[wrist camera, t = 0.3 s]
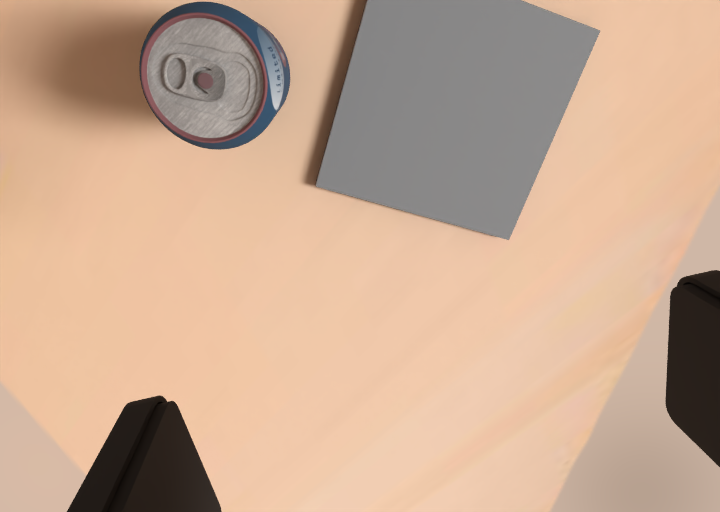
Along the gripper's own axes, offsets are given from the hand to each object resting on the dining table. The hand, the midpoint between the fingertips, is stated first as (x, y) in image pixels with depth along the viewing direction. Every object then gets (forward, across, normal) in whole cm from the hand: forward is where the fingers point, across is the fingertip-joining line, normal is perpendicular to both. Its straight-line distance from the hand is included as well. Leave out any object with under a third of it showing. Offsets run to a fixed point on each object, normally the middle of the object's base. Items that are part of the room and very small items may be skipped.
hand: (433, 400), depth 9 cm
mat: (+29, -8, -1) cm, 30 cm away
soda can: (+29, +6, -7) cm, 31 cm away
